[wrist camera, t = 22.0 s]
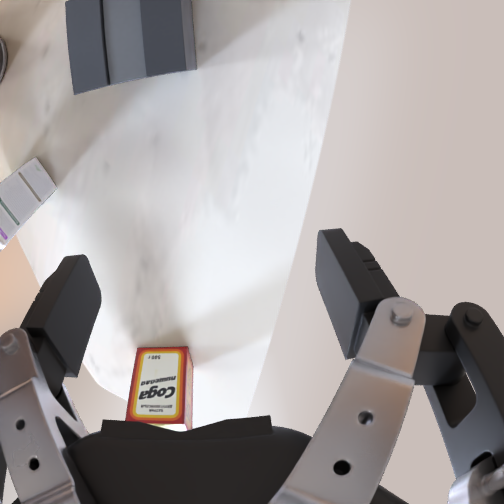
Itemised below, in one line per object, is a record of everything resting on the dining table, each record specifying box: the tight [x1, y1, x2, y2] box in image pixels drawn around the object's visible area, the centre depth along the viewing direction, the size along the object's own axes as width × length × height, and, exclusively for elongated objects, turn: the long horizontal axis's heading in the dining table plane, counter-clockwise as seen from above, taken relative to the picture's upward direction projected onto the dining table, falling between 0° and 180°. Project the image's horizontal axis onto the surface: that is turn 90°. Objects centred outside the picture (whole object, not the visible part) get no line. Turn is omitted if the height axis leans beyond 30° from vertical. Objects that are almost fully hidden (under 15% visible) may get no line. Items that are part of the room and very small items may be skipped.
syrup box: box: [0, 157, 57, 251], centre depth 29 cm, size 6×6×14 cm
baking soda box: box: [125, 346, 193, 431], centre depth 49 cm, size 10×6×16 cm
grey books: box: [65, 0, 197, 95], centre depth 23 cm, size 10×9×11 cm
